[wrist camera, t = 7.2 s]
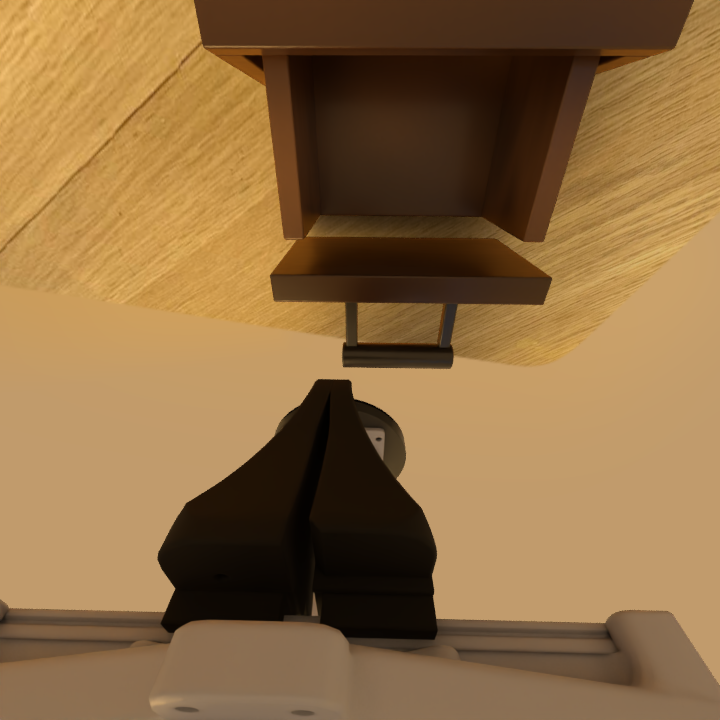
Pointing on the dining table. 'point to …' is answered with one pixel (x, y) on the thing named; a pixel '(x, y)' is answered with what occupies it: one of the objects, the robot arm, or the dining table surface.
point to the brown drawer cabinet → (439, 28)
